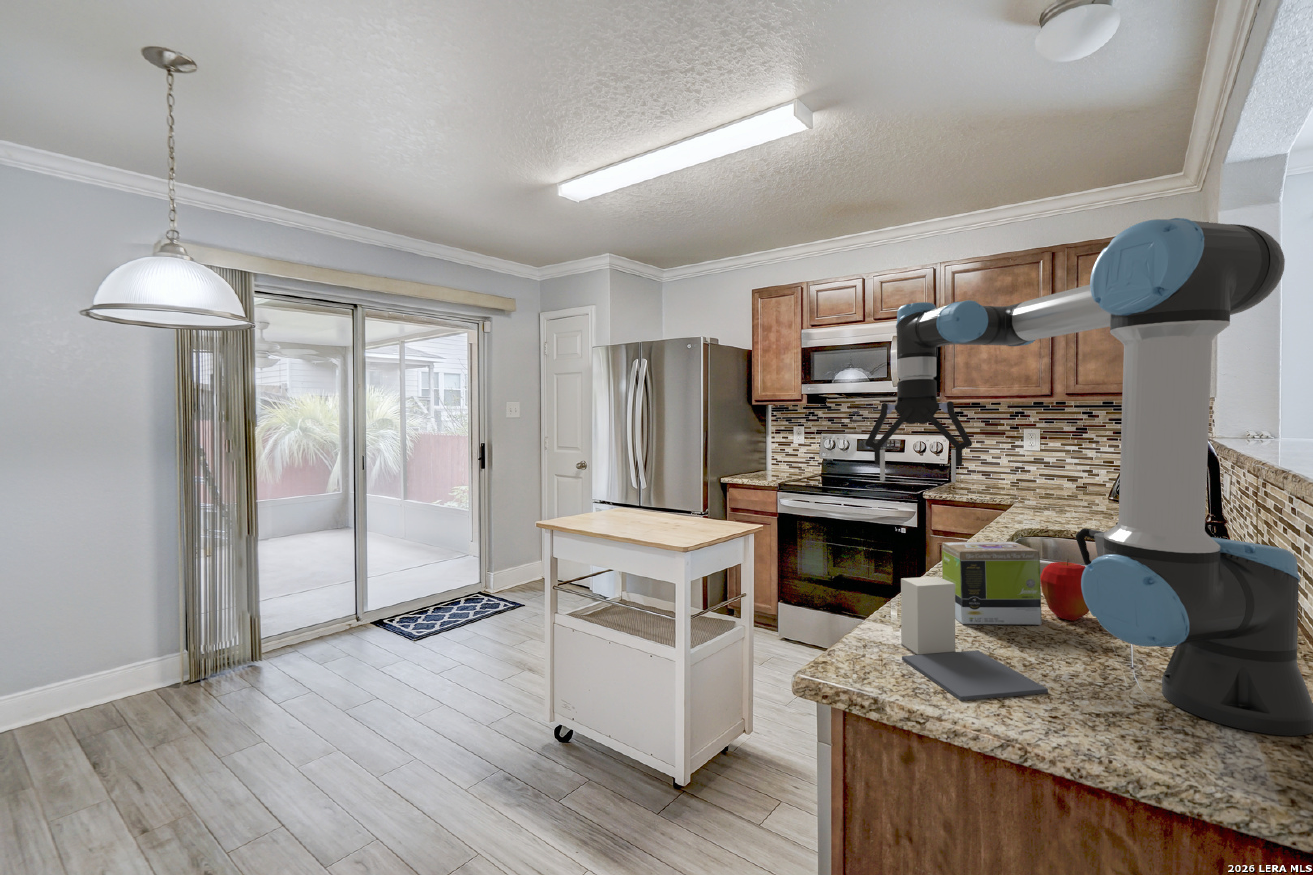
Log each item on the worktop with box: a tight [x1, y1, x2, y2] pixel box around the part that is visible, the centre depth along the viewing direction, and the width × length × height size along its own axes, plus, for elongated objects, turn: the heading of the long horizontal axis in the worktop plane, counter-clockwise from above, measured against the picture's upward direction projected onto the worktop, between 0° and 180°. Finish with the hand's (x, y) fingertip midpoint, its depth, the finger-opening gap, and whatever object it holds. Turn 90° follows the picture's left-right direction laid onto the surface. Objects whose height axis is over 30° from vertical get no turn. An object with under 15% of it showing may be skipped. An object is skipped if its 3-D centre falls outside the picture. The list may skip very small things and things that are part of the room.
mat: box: [901, 649, 1049, 702], centre depth 93 cm, size 15×14×1 cm
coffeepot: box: [1075, 521, 1118, 566], centre depth 126 cm, size 15×9×18 cm, turn 25°
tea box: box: [941, 541, 1043, 626], centre depth 120 cm, size 15×10×15 cm
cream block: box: [900, 575, 956, 655], centre depth 104 cm, size 5×7×12 cm
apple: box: [1040, 558, 1090, 621], centre depth 119 cm, size 9×9×12 cm
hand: (917, 481), depth 124 cm, fingers open, 13 cm apart
